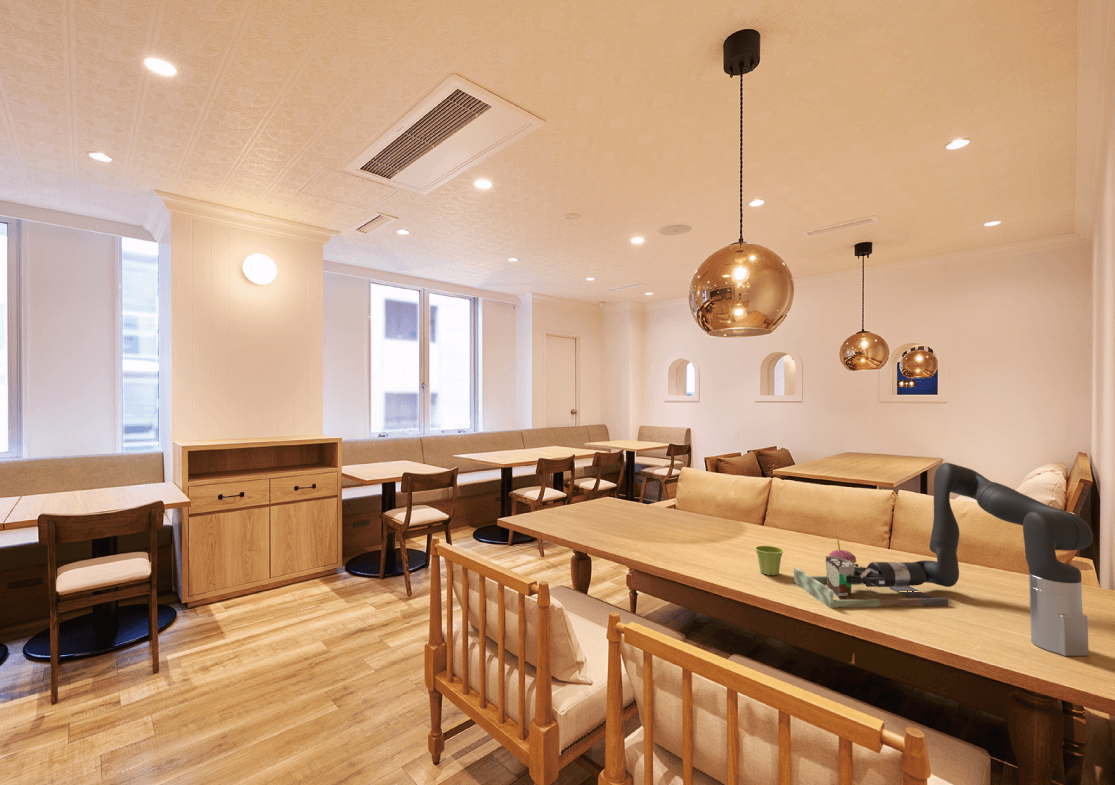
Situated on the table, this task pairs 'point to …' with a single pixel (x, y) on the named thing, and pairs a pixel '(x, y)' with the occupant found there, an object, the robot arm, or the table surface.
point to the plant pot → (769, 559)
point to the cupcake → (843, 554)
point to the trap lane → (826, 596)
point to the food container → (839, 576)
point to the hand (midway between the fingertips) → (838, 575)
